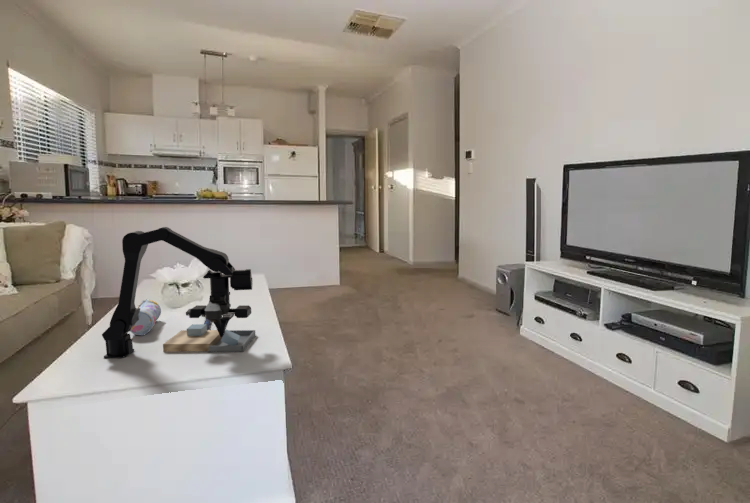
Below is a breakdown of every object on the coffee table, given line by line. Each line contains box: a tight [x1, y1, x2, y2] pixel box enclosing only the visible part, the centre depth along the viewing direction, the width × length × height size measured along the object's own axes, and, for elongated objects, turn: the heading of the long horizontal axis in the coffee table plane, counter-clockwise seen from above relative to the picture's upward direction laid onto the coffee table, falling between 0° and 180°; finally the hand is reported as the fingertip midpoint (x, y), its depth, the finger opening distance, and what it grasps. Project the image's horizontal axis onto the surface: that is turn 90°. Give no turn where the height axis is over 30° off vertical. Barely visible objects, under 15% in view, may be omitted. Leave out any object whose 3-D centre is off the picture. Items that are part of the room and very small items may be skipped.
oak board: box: [162, 329, 222, 353], centre depth 148 cm, size 15×14×2 cm
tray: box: [207, 329, 256, 353], centre depth 148 cm, size 11×16×2 cm
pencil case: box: [129, 298, 162, 336], centre depth 164 cm, size 21×9×10 cm, turn 18°
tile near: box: [221, 329, 240, 345], centre depth 145 cm, size 5×5×2 cm
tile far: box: [186, 323, 207, 336], centre depth 151 cm, size 5×5×2 cm
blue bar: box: [185, 308, 212, 330], centre depth 173 cm, size 34×2×12 cm
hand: (221, 336), depth 144 cm, fingers closed
